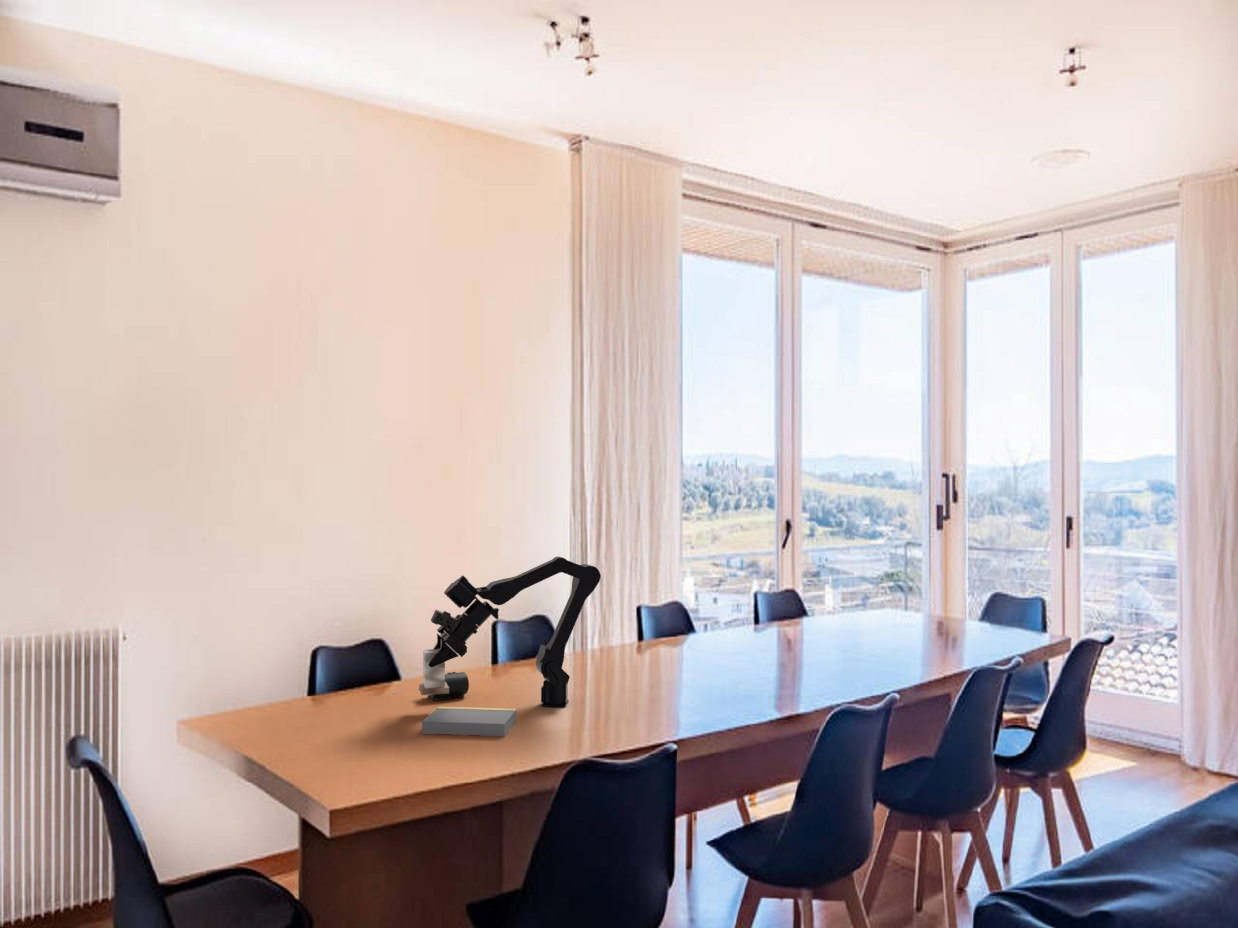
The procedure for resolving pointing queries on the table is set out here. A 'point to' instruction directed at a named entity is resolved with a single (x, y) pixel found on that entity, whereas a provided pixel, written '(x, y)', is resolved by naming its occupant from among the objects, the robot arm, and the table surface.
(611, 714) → the table surface
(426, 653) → the wrapped pallet load
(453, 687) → the end cap
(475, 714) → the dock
